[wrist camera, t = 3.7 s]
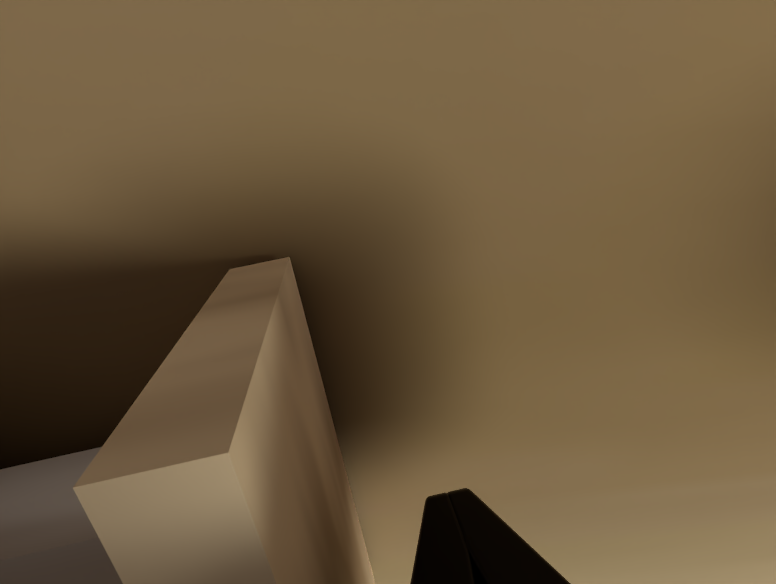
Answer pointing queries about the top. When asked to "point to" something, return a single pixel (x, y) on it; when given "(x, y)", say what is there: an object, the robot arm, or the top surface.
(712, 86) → the top surface
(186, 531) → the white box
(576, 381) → the top surface
